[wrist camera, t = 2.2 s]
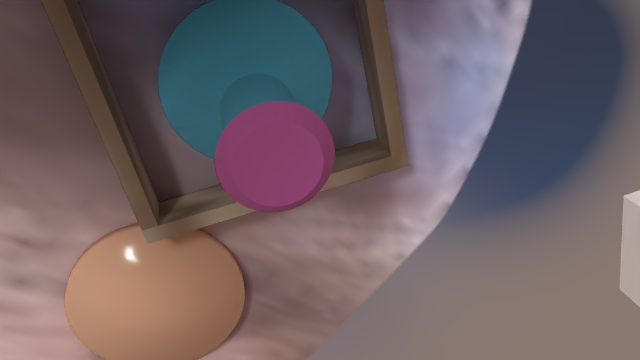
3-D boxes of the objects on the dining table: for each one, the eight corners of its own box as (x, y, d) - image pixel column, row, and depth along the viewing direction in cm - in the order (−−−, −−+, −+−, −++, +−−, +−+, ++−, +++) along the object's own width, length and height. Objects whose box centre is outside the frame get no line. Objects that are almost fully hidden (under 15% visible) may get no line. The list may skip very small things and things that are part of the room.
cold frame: (149, 219, 38) (139, 345, 27) (21, -83, 29) (-68, -69, 18) (392, 147, 39) (472, 239, 29) (342, -160, 30) (430, -187, 20)
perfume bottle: (133, 93, 34) (107, 220, 21) (204, -51, 31) (225, -11, 18) (268, 156, 37) (318, 296, 24) (341, 31, 35) (441, 114, 22)
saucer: (106, 380, 43) (105, 389, 42) (35, 253, 37) (32, 260, 36) (262, 330, 44) (263, 337, 43) (216, 199, 38) (216, 205, 37)
